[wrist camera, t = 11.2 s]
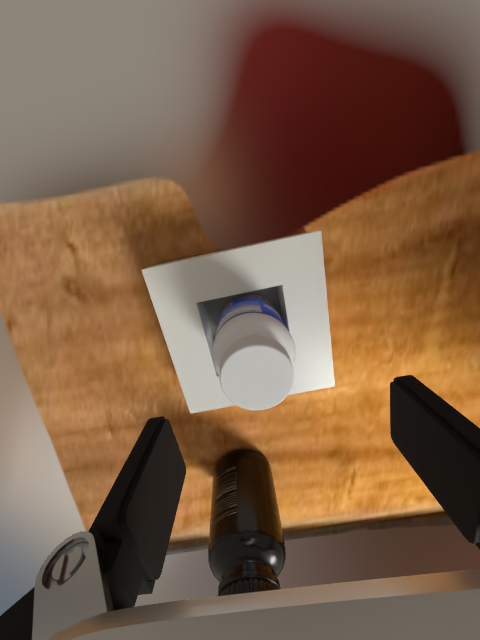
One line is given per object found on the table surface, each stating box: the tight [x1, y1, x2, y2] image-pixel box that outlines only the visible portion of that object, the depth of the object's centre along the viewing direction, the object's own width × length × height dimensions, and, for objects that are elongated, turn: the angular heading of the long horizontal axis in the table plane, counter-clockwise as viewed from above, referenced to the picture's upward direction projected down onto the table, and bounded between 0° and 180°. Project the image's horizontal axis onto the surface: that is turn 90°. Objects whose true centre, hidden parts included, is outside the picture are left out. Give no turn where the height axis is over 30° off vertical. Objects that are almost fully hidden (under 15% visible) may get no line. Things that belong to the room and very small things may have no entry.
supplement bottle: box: [208, 450, 286, 596], centre depth 23 cm, size 7×7×12 cm
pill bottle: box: [212, 295, 296, 410], centre depth 17 cm, size 5×5×10 cm
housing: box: [142, 231, 335, 414], centre depth 20 cm, size 13×13×4 cm
